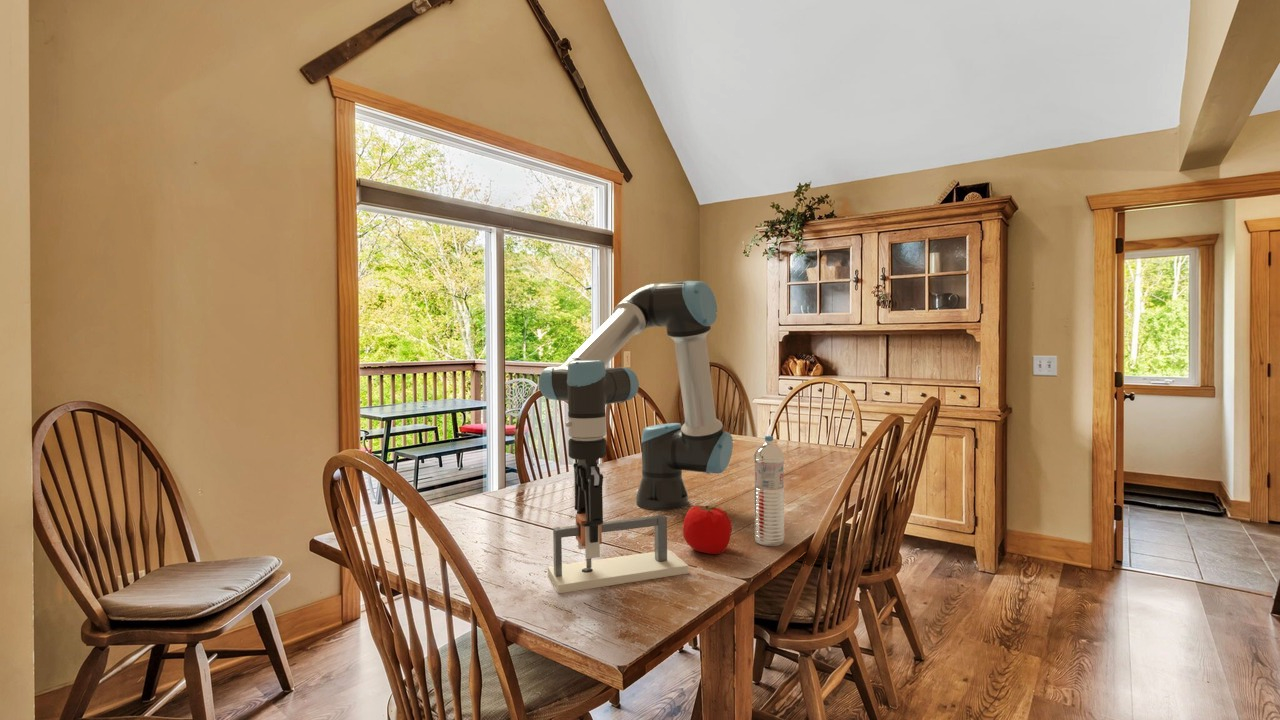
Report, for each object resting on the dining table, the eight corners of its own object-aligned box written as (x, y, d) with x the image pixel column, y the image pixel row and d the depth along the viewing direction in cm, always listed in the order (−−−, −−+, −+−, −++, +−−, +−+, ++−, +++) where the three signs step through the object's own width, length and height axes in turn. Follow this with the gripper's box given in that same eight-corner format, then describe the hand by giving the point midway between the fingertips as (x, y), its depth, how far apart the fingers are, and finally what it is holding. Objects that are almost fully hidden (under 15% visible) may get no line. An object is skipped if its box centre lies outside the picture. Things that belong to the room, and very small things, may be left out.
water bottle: (765, 535, 146) (764, 433, 145) (789, 542, 141) (789, 436, 140) (748, 542, 141) (748, 436, 141) (773, 549, 136) (773, 440, 136)
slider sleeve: (595, 561, 124) (594, 512, 124) (602, 570, 119) (601, 518, 119) (576, 564, 123) (575, 514, 122) (582, 573, 118) (581, 521, 118)
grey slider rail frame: (663, 557, 128) (663, 514, 127) (667, 560, 126) (666, 517, 125) (553, 573, 119) (553, 527, 119) (555, 577, 118) (555, 530, 117)
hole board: (669, 556, 132) (669, 549, 132) (688, 573, 123) (688, 564, 123) (547, 574, 123) (547, 566, 123) (558, 593, 114) (558, 584, 114)
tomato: (705, 564, 128) (705, 516, 128) (671, 547, 139) (671, 503, 138) (745, 553, 134) (745, 508, 134) (709, 538, 145) (709, 496, 144)
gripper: (558, 432, 127) (560, 540, 128) (580, 446, 110) (582, 571, 111) (593, 430, 130) (594, 536, 131) (619, 443, 113) (620, 565, 114)
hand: (588, 552), depth 121 cm, fingers closed on slider sleeve, 5 cm apart
